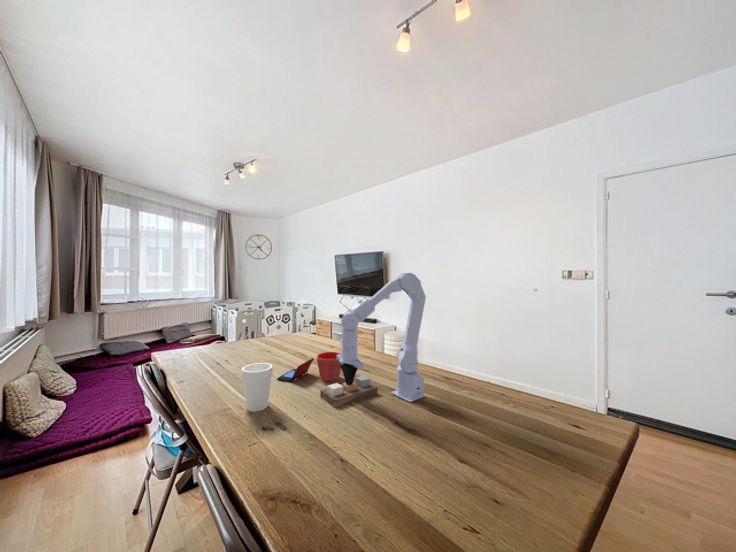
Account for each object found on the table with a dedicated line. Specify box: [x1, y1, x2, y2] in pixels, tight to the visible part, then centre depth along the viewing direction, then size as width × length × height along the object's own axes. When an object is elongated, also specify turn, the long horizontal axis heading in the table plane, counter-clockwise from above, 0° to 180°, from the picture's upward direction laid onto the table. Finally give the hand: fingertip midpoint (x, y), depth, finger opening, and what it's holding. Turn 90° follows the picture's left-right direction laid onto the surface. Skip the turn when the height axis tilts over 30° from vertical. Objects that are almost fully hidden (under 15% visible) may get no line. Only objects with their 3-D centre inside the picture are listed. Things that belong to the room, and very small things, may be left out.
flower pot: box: [316, 351, 343, 382], centre depth 119 cm, size 11×11×10 cm
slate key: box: [354, 375, 371, 388], centre depth 106 cm, size 4×4×3 cm
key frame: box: [320, 380, 379, 409], centre depth 102 cm, size 10×18×2 cm, turn 128°
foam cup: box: [240, 362, 274, 413], centre depth 93 cm, size 10×9×13 cm
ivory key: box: [326, 382, 343, 396], centre depth 99 cm, size 4×4×3 cm
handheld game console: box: [276, 357, 315, 383], centre depth 121 cm, size 12×11×7 cm
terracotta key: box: [341, 382, 357, 392], centre depth 102 cm, size 4×4×3 cm
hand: (349, 384), depth 102 cm, fingers closed, pressing on terracotta key
